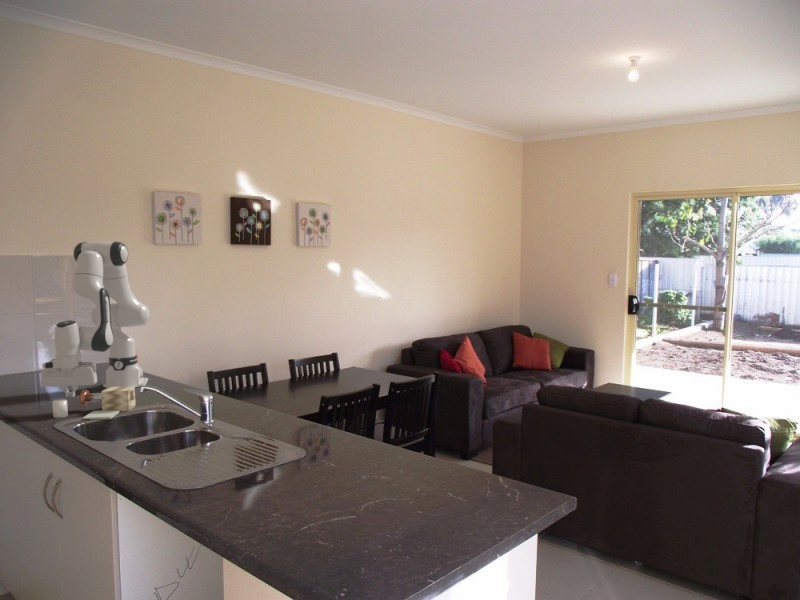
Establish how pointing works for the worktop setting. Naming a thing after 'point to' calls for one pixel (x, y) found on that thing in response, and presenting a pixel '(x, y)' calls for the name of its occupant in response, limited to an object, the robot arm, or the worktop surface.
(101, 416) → the pad
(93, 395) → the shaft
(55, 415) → the spacer
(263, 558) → the worktop surface
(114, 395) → the bearing block
